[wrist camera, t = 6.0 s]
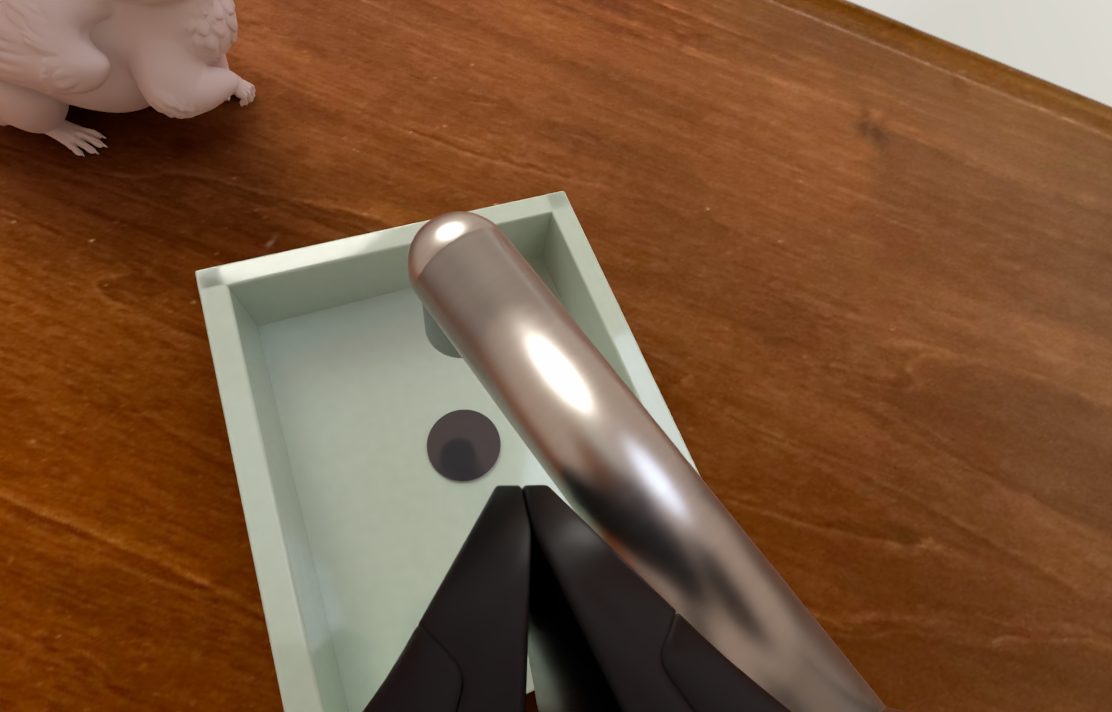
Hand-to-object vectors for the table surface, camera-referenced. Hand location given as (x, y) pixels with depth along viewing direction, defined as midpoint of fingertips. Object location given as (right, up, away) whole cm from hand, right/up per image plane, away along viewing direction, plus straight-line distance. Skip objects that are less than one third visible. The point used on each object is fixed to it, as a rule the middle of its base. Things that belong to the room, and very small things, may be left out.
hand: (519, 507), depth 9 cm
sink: (-2, -3, +9) cm, 10 cm away
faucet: (+1, -3, +8) cm, 9 cm away
